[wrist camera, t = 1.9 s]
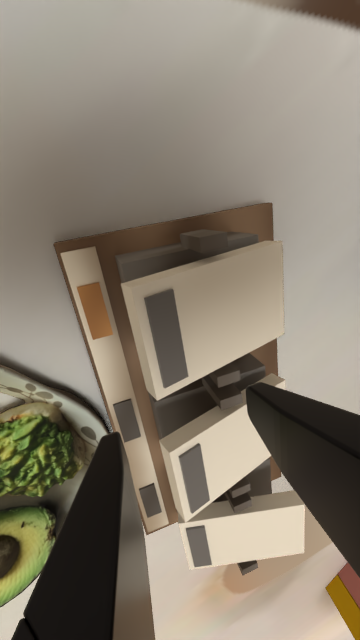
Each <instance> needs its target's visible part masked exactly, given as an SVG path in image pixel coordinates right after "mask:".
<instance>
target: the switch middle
mask: <svg viewBox="0 0 360 640" xmlns="http://www.w3.org/2000/svg"><path fill="white" fill-rule="evenodd" d="M258 382H263V383H266V384H269V385H272V386H275V387H278V388H281V389H284V390H285V379H283V378H281V377H279V376H277V375H275V374H273V373H271V374H269V375H268V376H266V377H264V378H263V379H261V380H259V381H258ZM256 383H257V382H256ZM241 393H242V402H243V403H241V404H238V405H235V406H233V407H230V408H227V409H224V410H221V409H220V408H219V406H216V407H214V408H213V409H211V410H209V411H208V412H206V413H204V414H202V415H201V416H199V417H197V418H196V419H194V420H192V421H191V422H189V423H187V424H186V425H184V426H182V427H181V428H179V429H177V430H176V431H174V432H172V433H171V434H169V435H167V436H166V437H164V438H162V439H161V440H159V442H160V446H161V450H162V454H163V459H164V463H165V467H166V471H167V475H168V479H169V483H170V487H171V491H172V495H173V499H174V503H175V508H176V509H177V511H178V512H179V514H180V515H181V517H182V518H183V520H184V521H185V523H186V522H187V521H189V520H190V519H191V518H192V517H194V516H195V515H196V514H197V513H199V512H200V511H201V510H203V509H204V508H205V507H206V506H208V505H209V504H210V503H212V502H213V501H214V500H215V499H217V498H218V497H219V496H220V495H222V494H223V493H224V492H226V491H227V490H228V489H229V488H231V487H232V486H233V485H234V484H236V483H237V482H238V481H240V480H241V479H242V478H243V477H245V476H246V475H247V474H249V473H250V472H251V471H252V470H254V469H255V468H256V467H257V466H259V465H260V464H261V463H263V462H264V461H265V460H266V459H268V458H269V457H270V456H271V454H270V453H269V451H268V449H267V447H266V446H265V444H264V442H263V441H262V439H261V437H260V436H259V434H258V432H257V431H256V429H255V427H254V426H253V424H252V422H251V420H250V418H249V416H248V412H247V402H246V389H244V390H243V391H241Z"/></svg>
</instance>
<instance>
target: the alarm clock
mask: <svg viewBox="0 0 360 640" xmlns="http://www.w3.org/2000/svg"><path fill="white" fill-rule="evenodd" d="M326 590H327V591H328V593H329V595H330V597H331V598H332V600H333V602H334V604H335V605H336V607H337V609H338V611H339V612H340V614H341V616H342V618H343V619H344V621H345V623H346V624H347V626H348V628H349V630H350V631H351V633H352V635H353V637H354V638H355V640H360V578H359V577H358V575H357V574H356V573H355V571H354V570H353V569H352V567H351V566H350V565H349V563H347V564H346V565H345V566H344V567H343V568H342V570H341V571H340V572H339V573H338V575H336V577H335V578H334V579H333V580H332V581H331V582H330V583H329V585H328V586H327V587H326Z"/></svg>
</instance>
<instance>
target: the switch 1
mask: <svg viewBox="0 0 360 640" xmlns="http://www.w3.org/2000/svg"><path fill="white" fill-rule="evenodd" d="M121 287H122V291H123V295H124V299H125V303H126V307H127V311H128V316H129V320H130V324H131V328H132V332H133V336H134V340H135V344H136V348H137V352H138V356H139V360H140V365H141V369H142V373H143V377H144V381H145V385H146V389H147V391H148V392H149V393H150V394H151V395H152V396H153V397H154V398H155V399H156V400H157V401H158V400H160V399H162V398H164V397H166V396H167V395H169V394H171V393H173V392H175V391H177V390H179V389H181V388H183V387H185V386H186V385H188V384H190V383H192V382H194V381H196V380H198V379H200V378H202V377H204V376H205V375H207V374H209V373H211V372H213V371H215V370H217V369H219V368H221V367H223V366H225V365H226V364H228V363H230V362H232V361H234V360H236V359H238V358H240V357H242V356H244V355H245V354H247V353H249V352H251V351H253V350H255V349H257V348H259V347H261V346H263V345H264V344H266V343H268V342H270V341H272V340H274V339H276V338H278V337H280V336H282V335H283V334H284V297H283V249H282V241H263V242H259V243H256V244H253V245H249V246H246V247H243V248H239V249H236V250H233V251H229V252H226V253H222V254H219V255H216V256H212V257H209V258H206V259H202V260H199V261H196V262H192V263H189V264H185V265H182V266H179V267H175V268H172V269H169V270H165V271H162V272H159V273H155V274H152V275H148V276H145V277H142V278H138V279H135V280H132V281H128V282H125V283H122V284H121Z"/></svg>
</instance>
